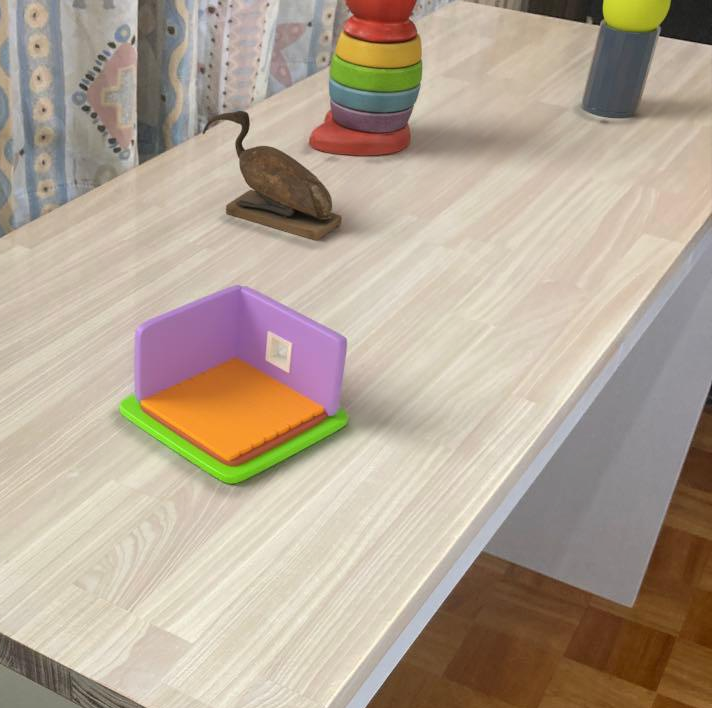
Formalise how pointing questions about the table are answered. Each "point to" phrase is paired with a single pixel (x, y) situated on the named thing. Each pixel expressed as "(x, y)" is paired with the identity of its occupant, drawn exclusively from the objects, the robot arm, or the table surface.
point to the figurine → (279, 189)
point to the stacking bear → (372, 80)
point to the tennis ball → (635, 14)
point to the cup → (618, 71)
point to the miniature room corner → (236, 382)
